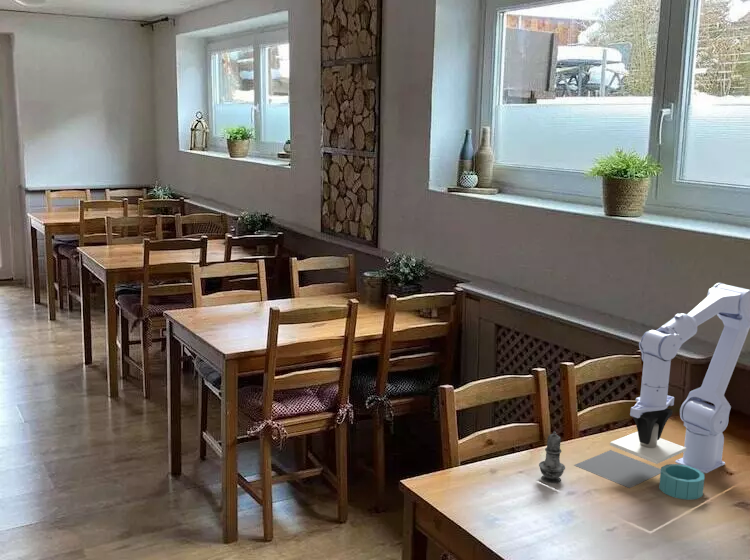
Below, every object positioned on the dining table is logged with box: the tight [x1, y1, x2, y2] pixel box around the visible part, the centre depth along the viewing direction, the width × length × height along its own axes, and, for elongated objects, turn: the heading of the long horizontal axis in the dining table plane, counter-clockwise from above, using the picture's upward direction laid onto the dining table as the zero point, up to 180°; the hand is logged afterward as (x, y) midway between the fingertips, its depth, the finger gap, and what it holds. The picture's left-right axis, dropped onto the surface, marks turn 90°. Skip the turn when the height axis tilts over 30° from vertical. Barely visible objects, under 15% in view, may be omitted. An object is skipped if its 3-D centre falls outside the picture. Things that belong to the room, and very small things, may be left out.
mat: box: [573, 449, 661, 489], centre depth 188 cm, size 15×15×1 cm
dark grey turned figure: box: [538, 430, 566, 486], centre depth 180 cm, size 6×6×12 cm
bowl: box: [658, 463, 706, 501], centre depth 177 cm, size 9×9×4 cm
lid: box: [609, 423, 686, 465], centre depth 181 cm, size 12×12×6 cm
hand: (649, 440), depth 181 cm, fingers closed on lid, 4 cm apart
